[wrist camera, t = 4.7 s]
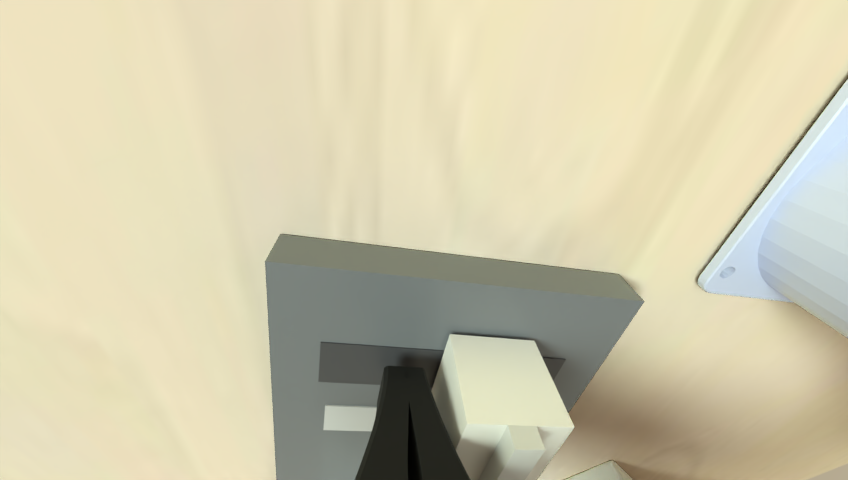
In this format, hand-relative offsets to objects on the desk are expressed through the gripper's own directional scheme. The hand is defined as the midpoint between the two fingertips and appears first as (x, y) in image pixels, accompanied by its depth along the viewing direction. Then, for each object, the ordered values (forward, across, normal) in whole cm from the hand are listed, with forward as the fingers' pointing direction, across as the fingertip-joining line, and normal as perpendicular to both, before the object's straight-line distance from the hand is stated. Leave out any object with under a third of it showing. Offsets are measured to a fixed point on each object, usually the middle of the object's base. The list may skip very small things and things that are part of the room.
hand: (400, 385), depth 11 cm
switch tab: (+1, -3, 0) cm, 3 cm away
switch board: (+2, -2, +6) cm, 6 cm away
